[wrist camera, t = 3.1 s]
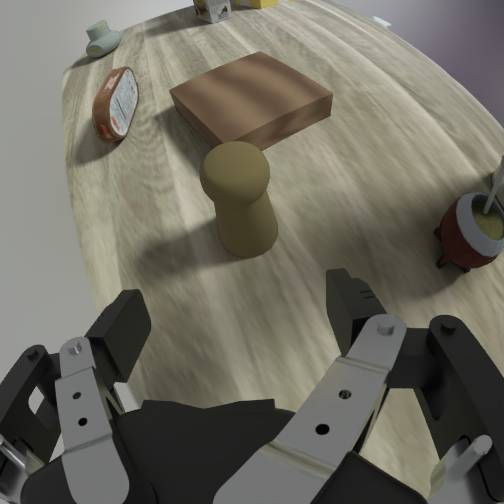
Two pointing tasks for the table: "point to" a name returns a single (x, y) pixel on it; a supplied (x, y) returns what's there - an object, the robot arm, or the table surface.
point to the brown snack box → (213, 10)
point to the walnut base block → (251, 102)
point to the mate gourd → (472, 229)
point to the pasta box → (260, 3)
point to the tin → (115, 105)
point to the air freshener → (102, 39)
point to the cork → (240, 197)
